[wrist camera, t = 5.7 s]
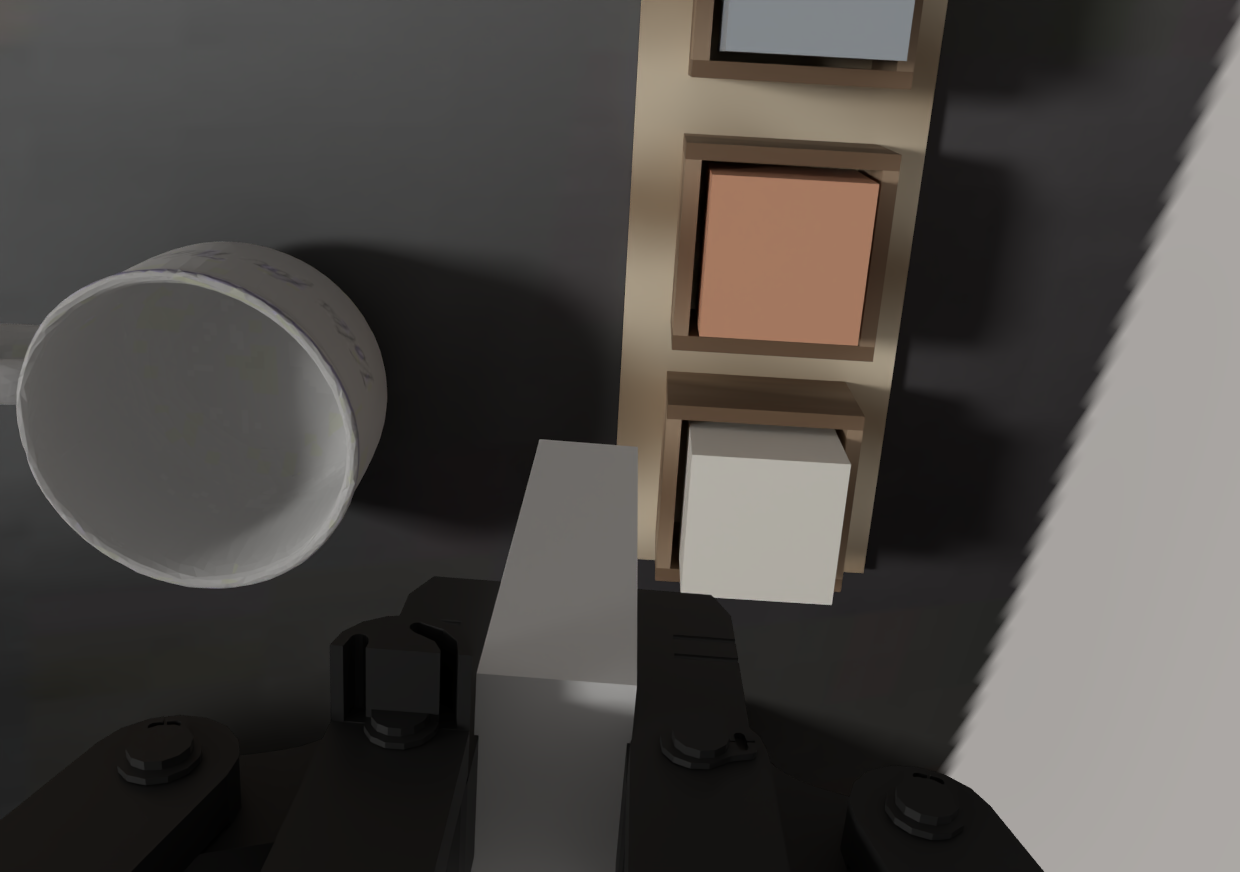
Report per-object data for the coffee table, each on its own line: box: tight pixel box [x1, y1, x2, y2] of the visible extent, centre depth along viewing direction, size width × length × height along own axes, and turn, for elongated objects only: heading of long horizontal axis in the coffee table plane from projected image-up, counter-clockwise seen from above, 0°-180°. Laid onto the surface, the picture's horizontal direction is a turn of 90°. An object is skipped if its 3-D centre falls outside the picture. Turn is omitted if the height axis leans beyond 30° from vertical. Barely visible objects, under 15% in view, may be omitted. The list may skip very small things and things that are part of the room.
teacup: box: [0, 242, 387, 588], centre depth 36 cm, size 14×11×8 cm
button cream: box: [678, 420, 851, 605], centre depth 36 cm, size 5×5×4 cm
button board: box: [617, 0, 948, 592], centre depth 36 cm, size 26×10×4 cm, turn 177°
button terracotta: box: [695, 162, 879, 346], centre depth 34 cm, size 5×5×4 cm
